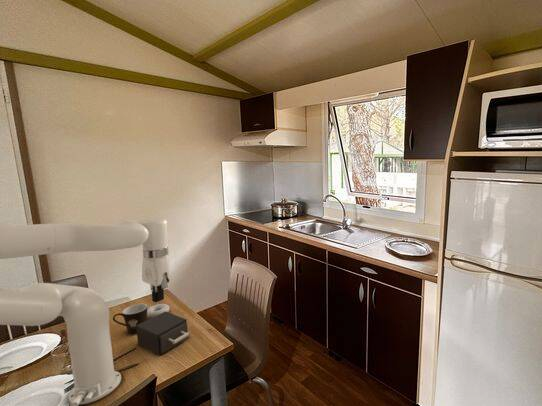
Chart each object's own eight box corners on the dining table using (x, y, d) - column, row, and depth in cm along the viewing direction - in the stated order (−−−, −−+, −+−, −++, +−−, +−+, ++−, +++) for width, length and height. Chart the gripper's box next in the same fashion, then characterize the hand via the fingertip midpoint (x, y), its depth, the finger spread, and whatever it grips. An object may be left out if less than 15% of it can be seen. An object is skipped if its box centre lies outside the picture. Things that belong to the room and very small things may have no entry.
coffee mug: (154, 325, 123) (152, 304, 121) (138, 337, 114) (135, 315, 113) (130, 323, 124) (128, 302, 122) (112, 334, 115) (110, 312, 114)
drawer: (195, 340, 111) (194, 325, 110) (169, 356, 102) (168, 340, 101) (168, 329, 118) (167, 315, 117) (142, 343, 109) (141, 328, 108)
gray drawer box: (187, 338, 114) (186, 319, 113) (159, 355, 104) (157, 335, 102) (167, 329, 120) (165, 311, 118) (138, 345, 109) (136, 325, 108)
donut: (174, 312, 133) (163, 306, 138) (173, 306, 132) (162, 300, 137) (151, 322, 124) (140, 315, 130) (150, 315, 124) (140, 309, 129)
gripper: (132, 251, 98) (135, 299, 100) (156, 259, 91) (159, 310, 94) (155, 246, 105) (157, 291, 107) (179, 253, 98) (180, 301, 100)
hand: (158, 300), depth 100 cm, fingers closed
